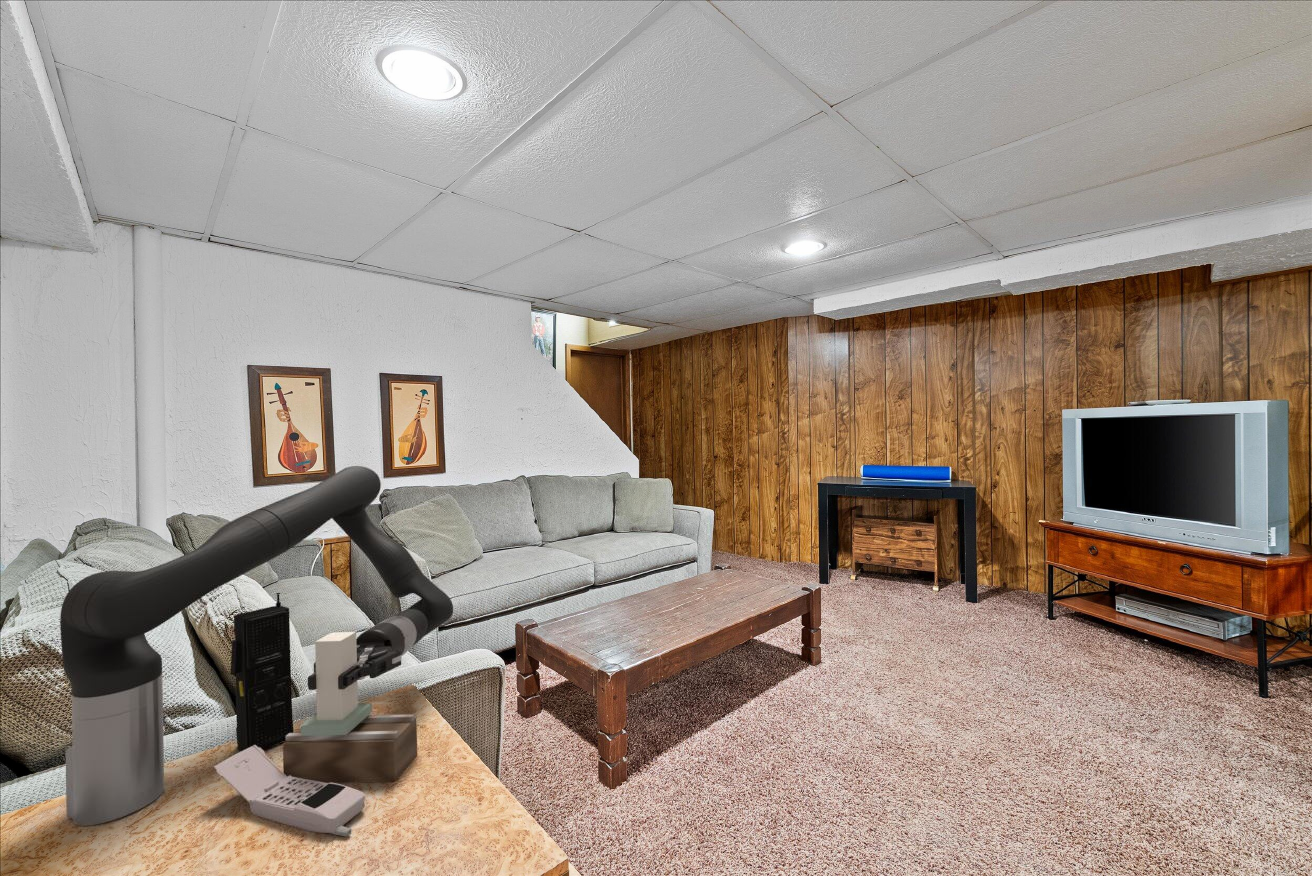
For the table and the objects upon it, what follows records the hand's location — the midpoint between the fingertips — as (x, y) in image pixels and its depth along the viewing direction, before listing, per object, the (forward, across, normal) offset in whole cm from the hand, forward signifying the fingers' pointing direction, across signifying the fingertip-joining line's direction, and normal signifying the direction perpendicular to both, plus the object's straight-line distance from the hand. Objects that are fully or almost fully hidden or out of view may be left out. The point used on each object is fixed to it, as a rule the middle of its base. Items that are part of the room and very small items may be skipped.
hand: (325, 683), depth 81 cm
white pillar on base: (-3, 0, +7) cm, 8 cm away
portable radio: (-10, -18, +15) cm, 26 cm away
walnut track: (-3, +2, +14) cm, 15 cm away
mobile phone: (+6, -1, +15) cm, 16 cm away
